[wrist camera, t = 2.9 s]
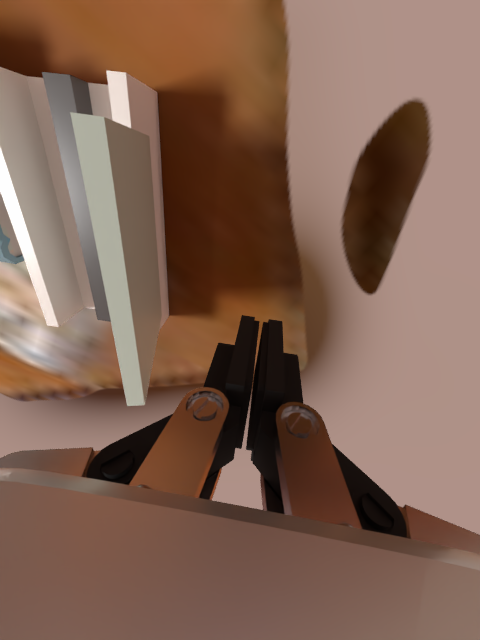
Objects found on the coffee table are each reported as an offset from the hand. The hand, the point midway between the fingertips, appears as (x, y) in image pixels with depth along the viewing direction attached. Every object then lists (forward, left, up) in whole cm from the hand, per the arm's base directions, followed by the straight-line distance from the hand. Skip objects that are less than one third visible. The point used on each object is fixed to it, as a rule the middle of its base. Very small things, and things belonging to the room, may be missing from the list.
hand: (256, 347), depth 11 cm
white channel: (0, -15, -16) cm, 22 cm away
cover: (0, -8, -6) cm, 10 cm away
